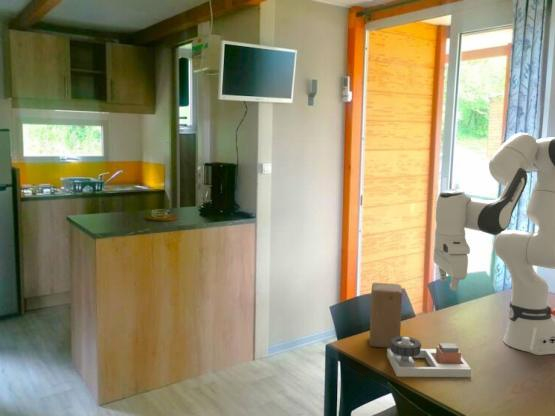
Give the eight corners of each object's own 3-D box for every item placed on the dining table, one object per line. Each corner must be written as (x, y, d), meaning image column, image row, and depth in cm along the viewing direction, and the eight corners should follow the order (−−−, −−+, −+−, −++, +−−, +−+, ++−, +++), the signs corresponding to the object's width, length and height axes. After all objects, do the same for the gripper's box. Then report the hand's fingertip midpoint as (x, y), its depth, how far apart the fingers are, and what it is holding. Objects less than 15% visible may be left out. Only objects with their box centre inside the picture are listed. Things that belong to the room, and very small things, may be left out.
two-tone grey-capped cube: (454, 361, 165) (455, 342, 164) (460, 368, 160) (461, 349, 159) (435, 361, 165) (436, 342, 164) (440, 368, 160) (441, 349, 159)
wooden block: (399, 349, 174) (402, 292, 172) (369, 347, 176) (371, 290, 174) (398, 338, 184) (401, 283, 181) (370, 336, 186) (372, 281, 183)
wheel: (415, 344, 166) (416, 336, 166) (423, 356, 157) (423, 347, 157) (388, 344, 166) (388, 336, 166) (394, 356, 157) (394, 347, 157)
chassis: (454, 356, 170) (456, 330, 168) (470, 377, 155) (472, 348, 154) (387, 355, 170) (388, 329, 168) (396, 376, 155) (398, 347, 154)
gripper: (429, 235, 172) (428, 275, 174) (450, 250, 152) (449, 295, 154) (448, 234, 172) (447, 275, 174) (472, 249, 152) (470, 295, 154)
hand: (448, 285), depth 164 cm, fingers open, 8 cm apart
